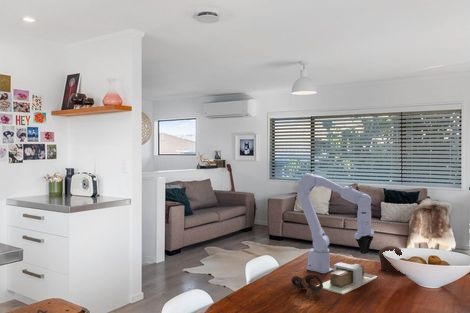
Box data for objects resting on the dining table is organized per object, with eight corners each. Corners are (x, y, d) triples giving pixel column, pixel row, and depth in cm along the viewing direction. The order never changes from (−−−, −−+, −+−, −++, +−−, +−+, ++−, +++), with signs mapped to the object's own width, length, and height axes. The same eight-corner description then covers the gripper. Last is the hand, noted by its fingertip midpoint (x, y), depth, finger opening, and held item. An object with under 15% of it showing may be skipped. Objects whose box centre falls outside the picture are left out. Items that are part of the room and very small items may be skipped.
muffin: (375, 270, 177) (375, 248, 177) (380, 264, 187) (380, 243, 187) (404, 274, 171) (404, 251, 171) (407, 267, 181) (407, 246, 181)
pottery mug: (320, 289, 154) (325, 275, 150) (318, 308, 146) (323, 293, 142) (290, 280, 156) (295, 265, 152) (286, 298, 148) (290, 283, 144)
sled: (330, 284, 156) (330, 272, 156) (353, 273, 169) (353, 263, 169) (341, 287, 152) (340, 275, 152) (364, 276, 166) (364, 265, 166)
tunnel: (316, 287, 155) (316, 270, 155) (351, 271, 175) (351, 256, 175) (343, 294, 147) (343, 276, 147) (377, 277, 167) (377, 261, 167)
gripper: (365, 225, 163) (365, 257, 163) (380, 220, 173) (380, 251, 173) (349, 223, 168) (349, 254, 168) (365, 219, 178) (365, 248, 178)
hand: (364, 253), depth 171 cm, fingers closed
